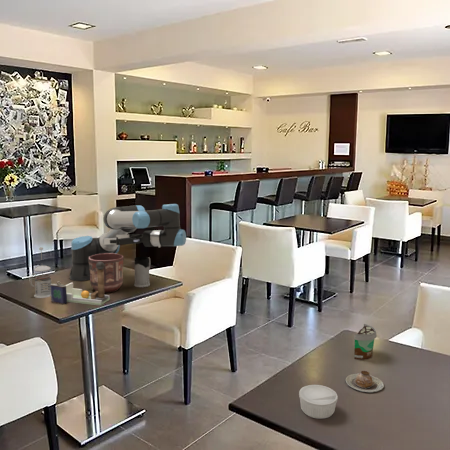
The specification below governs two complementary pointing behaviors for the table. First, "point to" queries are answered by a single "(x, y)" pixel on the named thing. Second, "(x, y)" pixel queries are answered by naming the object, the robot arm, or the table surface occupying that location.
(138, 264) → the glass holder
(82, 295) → the ball
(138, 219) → the robot arm
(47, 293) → the french press
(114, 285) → the pottery
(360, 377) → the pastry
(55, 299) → the flask
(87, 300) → the pale green tray
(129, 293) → the table surface
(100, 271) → the kicker
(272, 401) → the table surface
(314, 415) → the ramekin
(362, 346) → the food container
